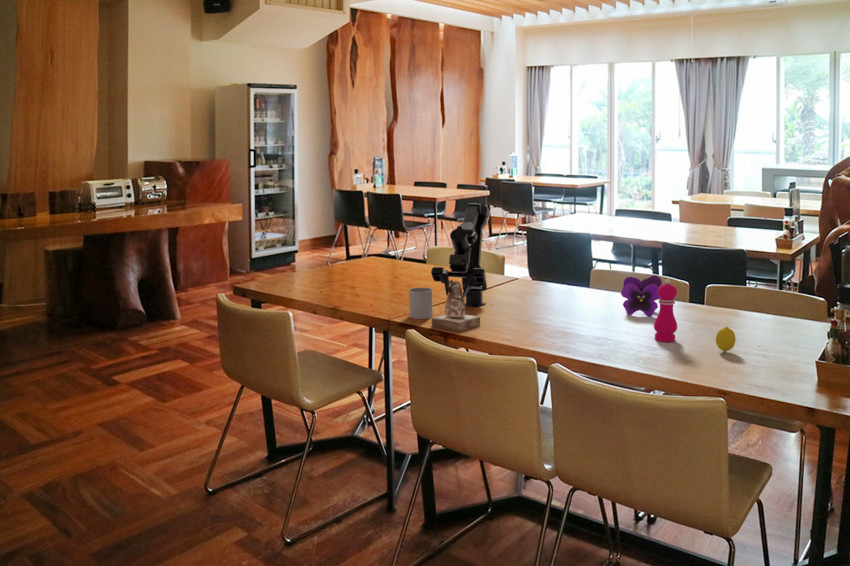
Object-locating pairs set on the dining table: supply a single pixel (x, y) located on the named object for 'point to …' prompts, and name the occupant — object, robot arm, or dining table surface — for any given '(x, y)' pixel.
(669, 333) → the pepper mill
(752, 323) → the dining table surface
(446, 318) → the plinth
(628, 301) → the flower
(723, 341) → the lemon
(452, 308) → the figurine
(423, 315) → the cup
